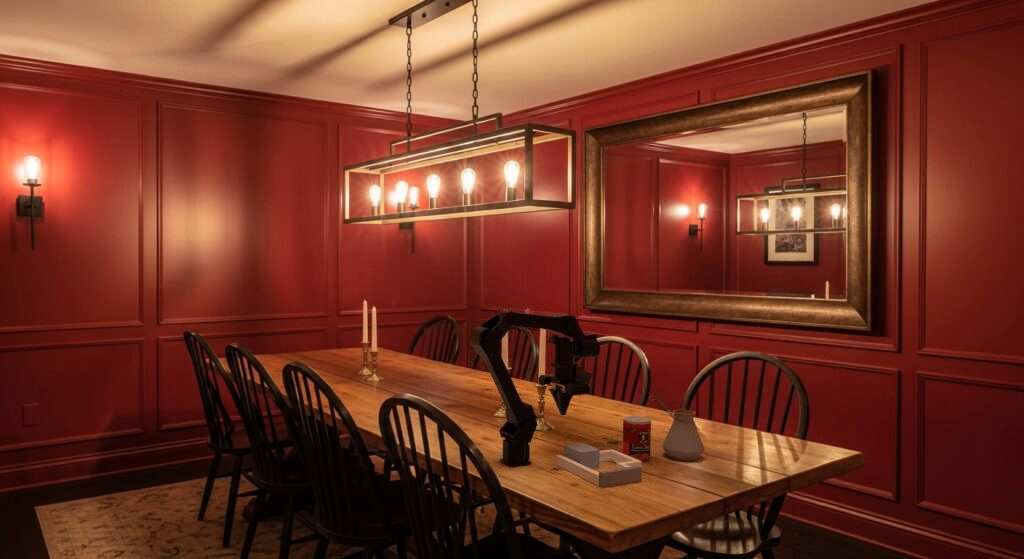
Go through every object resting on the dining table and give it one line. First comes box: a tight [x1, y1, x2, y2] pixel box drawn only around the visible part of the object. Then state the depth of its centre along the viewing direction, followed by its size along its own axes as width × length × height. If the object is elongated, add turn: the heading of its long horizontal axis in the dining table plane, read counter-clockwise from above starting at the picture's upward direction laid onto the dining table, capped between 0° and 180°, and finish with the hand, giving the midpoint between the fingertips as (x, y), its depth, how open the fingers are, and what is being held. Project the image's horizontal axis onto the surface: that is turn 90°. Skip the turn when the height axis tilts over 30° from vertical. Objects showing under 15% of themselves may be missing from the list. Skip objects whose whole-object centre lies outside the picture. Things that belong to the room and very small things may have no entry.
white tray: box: [555, 448, 643, 489], centre depth 186 cm, size 18×22×4 cm
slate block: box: [563, 442, 601, 470], centre depth 191 cm, size 6×8×5 cm
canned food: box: [622, 415, 652, 462], centre depth 199 cm, size 8×8×11 cm
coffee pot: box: [649, 394, 705, 462], centre depth 205 cm, size 21×12×15 cm, turn 24°
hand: (563, 415), depth 199 cm, fingers closed
